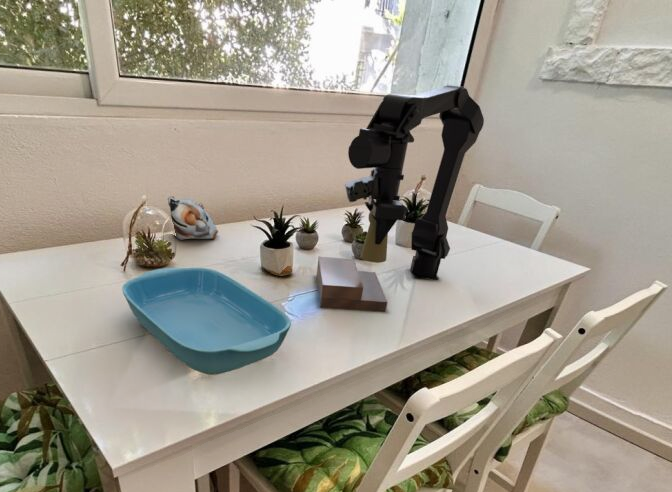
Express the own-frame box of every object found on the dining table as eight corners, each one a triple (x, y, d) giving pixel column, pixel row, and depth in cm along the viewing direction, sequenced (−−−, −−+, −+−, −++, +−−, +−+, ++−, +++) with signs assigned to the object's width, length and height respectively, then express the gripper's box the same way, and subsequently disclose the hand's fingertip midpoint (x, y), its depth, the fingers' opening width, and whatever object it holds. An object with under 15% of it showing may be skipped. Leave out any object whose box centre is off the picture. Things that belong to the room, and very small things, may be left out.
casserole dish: (310, 360, 85) (314, 325, 81) (205, 401, 72) (203, 363, 68) (205, 289, 107) (204, 259, 103) (109, 311, 94) (104, 278, 90)
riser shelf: (373, 281, 120) (377, 260, 116) (385, 312, 105) (390, 289, 102) (316, 277, 119) (318, 256, 115) (320, 307, 104) (322, 284, 101)
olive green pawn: (385, 255, 109) (394, 207, 103) (387, 263, 104) (396, 213, 98) (360, 252, 109) (367, 203, 103) (360, 260, 104) (368, 210, 98)
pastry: (298, 276, 118) (299, 261, 116) (275, 279, 115) (276, 264, 113) (280, 263, 124) (281, 249, 122) (258, 266, 121) (258, 252, 119)
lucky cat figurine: (227, 236, 138) (222, 200, 126) (198, 259, 134) (190, 224, 121) (191, 211, 142) (184, 173, 129) (162, 233, 137) (151, 195, 125)
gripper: (345, 155, 102) (336, 226, 111) (357, 171, 87) (345, 252, 96) (394, 160, 103) (381, 230, 112) (414, 176, 88) (397, 256, 97)
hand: (375, 241), depth 104 cm, fingers closed on olive green pawn, 4 cm apart
